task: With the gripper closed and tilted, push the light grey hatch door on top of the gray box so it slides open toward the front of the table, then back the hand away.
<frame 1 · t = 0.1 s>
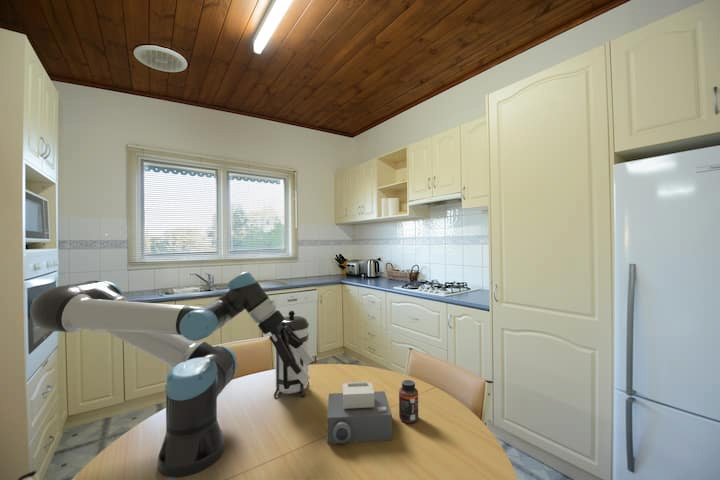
hand: (308, 371, 97), 15 cm above the table, tool tilted 35°, fingers open, 13 cm apart
supplement bottle: (408, 419, 97), on the table
hatch door: (358, 393, 93), point 10 cm above the table, slide at 0.0 cm
coffee press: (292, 393, 116), on the table
gray box: (358, 426, 93), on the table
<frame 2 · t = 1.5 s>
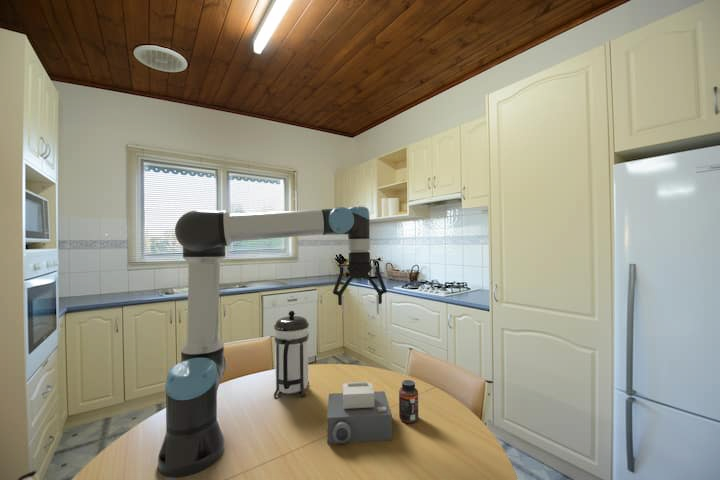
hand: (360, 313, 109), 30 cm above the table, tool pointing down, fingers open, 11 cm apart
nothing on the table moved.
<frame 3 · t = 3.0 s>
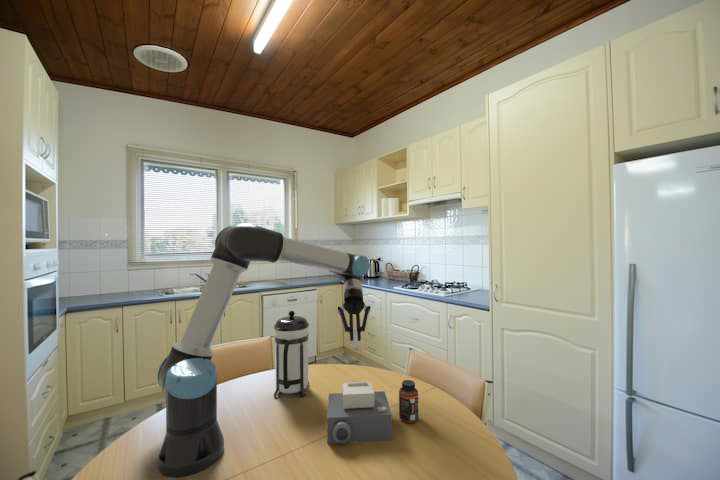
hand: (355, 348, 108), 18 cm above the table, tool tilted 45°, fingers closed
nothing on the table moved.
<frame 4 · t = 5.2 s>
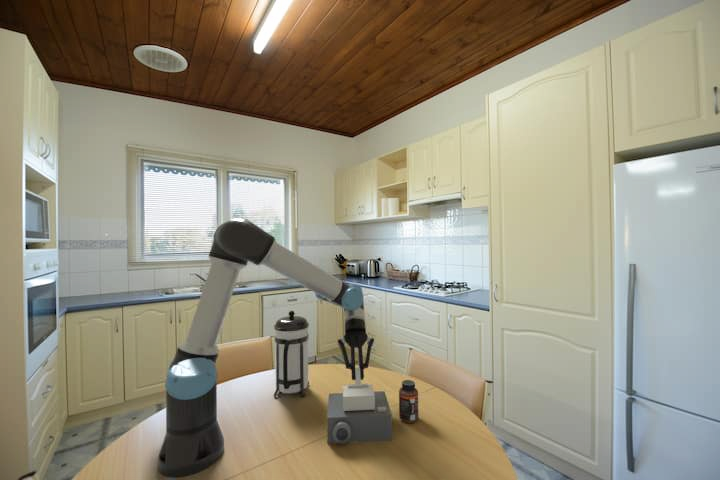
hand: (358, 389, 97), 9 cm above the table, tool tilted 45°, fingers closed
hatch door: (358, 395, 92), point 10 cm above the table, slide at 1.3 cm, touching gripper
everything else where it was.
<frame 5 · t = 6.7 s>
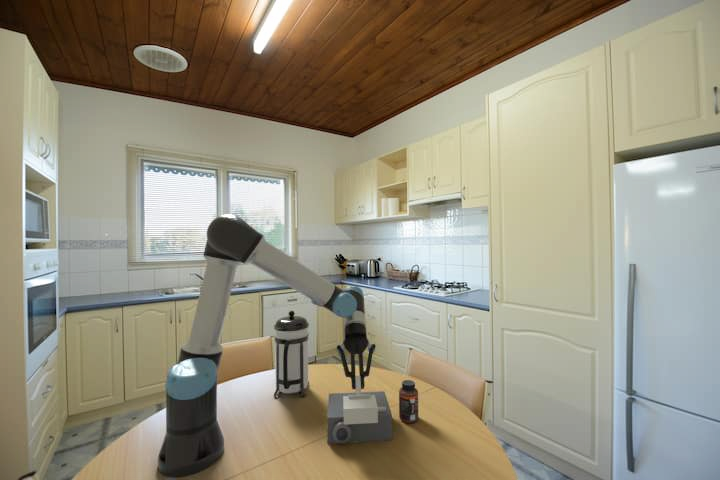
hand: (358, 400, 90), 10 cm above the table, tool tilted 45°, fingers closed
hatch door: (359, 407, 86), point 10 cm above the table, slide at 7.9 cm, touching gripper
everything else where it was.
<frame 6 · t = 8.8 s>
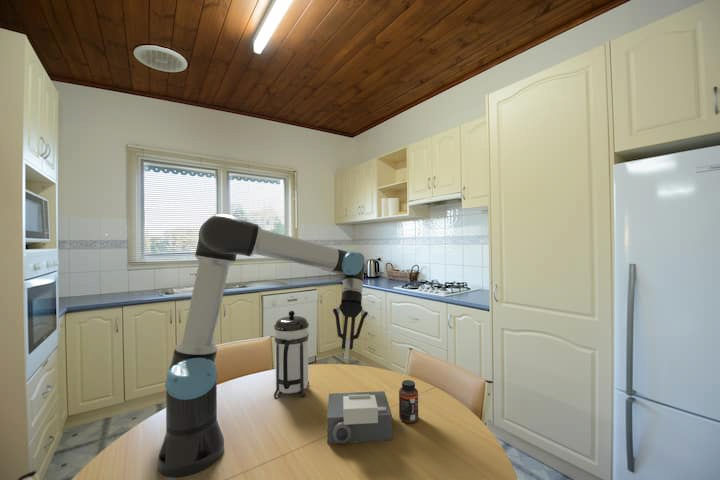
hand: (346, 359, 106), 15 cm above the table, tool tilted 25°, fingers closed
hatch door: (359, 407, 85), point 10 cm above the table, slide at 8.0 cm
everything else where it was.
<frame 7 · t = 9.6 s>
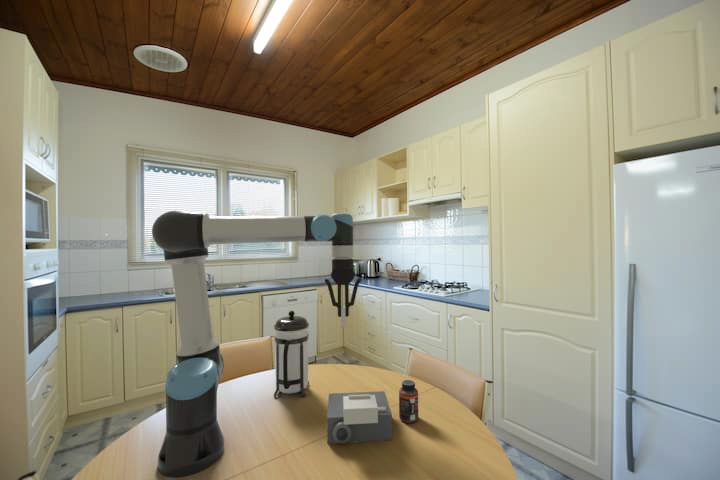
hand: (343, 325, 108), 26 cm above the table, tool pointing down, fingers closed
nothing on the table moved.
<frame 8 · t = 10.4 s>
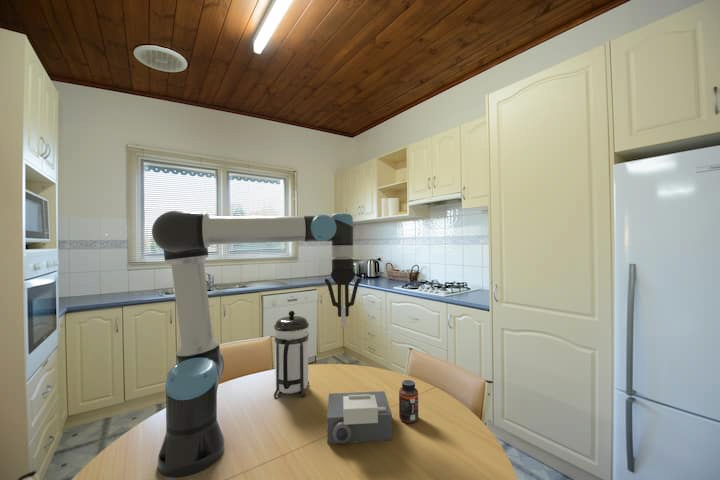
hand: (343, 325, 108), 26 cm above the table, tool pointing down, fingers closed
nothing on the table moved.
at the end: hatch door slide at 8.0 cm; the gripper is holding nothing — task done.
